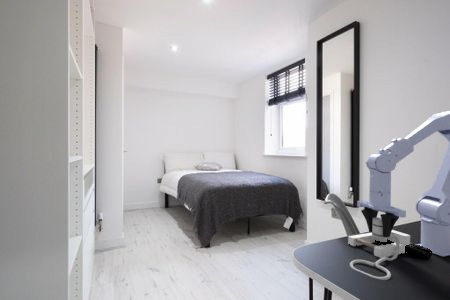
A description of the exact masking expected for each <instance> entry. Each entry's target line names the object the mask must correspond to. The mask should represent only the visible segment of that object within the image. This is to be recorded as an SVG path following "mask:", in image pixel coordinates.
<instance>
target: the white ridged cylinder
mask: <svg viewBox="0 0 450 300" xmlns="http://www.w3.org/2000/svg"><path fill="white" fill-rule="evenodd" d="M372 239H373V240H376V241H380V242H387V237H383V224H382V219H381V217H378V216H377V217H374V218H373V221H372Z"/></svg>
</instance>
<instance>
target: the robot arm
mask: <svg viewBox="0 0 450 300" xmlns="http://www.w3.org/2000/svg"><path fill="white" fill-rule="evenodd" d="M436 132H437V133H439V134H440V135H441V136H442V137H444V138H445V139H446V140H447V141H448V142H449V144H448V146H447V148H446V151H445V153H444V157H443V158H442V161H441V164H440V166H439V169H438V172H437V174H436V176H435V179H434V182H433V184H432V187H431V188H430V189H428V190H426V191H424V192H423V194H422V196H421V197H420V198H419V199H418V200H417V202H416V203H415V211H416V212H417V214H419V215H420V216H419V218H420V243H418V244H416V245H420V246H423V247H426V248H428V249H430V250H431V251H432V253H431V254H434V255H438V256H440V257H447V256H450V110H446V111H438V112H435V113H434V114H433V115H431V116H430V117H428V118H427V119H426V121H424V122H423V123H422V124H420V125H419V126H418V127H417V128H416V129H414V130H413V131H411V133H409V134H408V135H407V136H405V137H398V138H393V139H392V140H390V143H389V144H388V145H387V146H385V147H384V148H380V149H379V150H378V153H373V154H371V155H370V156H369V157H368V159H367V161H365V165H366V167H367V169H368V170H369V194H368V195H369V198H368V201H366V200H357V201H356V202H357V203H356V205H357V207H359V208H362V209H361V211H360V212H361V214H362V215H363V217H364V220H365V221H366V225H367V229H368V233H371V232H372V221H373V218H374V217H377V218H378V214H379V212H380V214H379V215H380V218H381V219H382V224H383V237H390V234H391V231H392V230H394V226H395V225H396V222H397V221H398V220H399V219H400V218H407V211H406V210H405V209H402V208H398V207H395V206H392V205H391V201H392V199H391V198H392V197H391V196H392V171H395V170H396V167H397V164H398V163H399V162H401V161H402V160H403V159H405V158H406V157H407V156H409V155H410V154H412V153H413V152H414V149H415V148H414V147H415V146H417V144H419V143H421V142H422V141H424V140H425V139H427V138H429V137H430V136H431V135H433V134H435V133H436Z"/></svg>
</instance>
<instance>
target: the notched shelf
mask: <svg viewBox="0 0 450 300" xmlns="http://www.w3.org/2000/svg"><path fill="white" fill-rule="evenodd" d="M391 235H396V236H397V237H398V239H399V245H400V246H399V253H398V255H400V254H401V253H402V254H405V246H406V245H409V244H410V245H411V235H410V234H407V233H404V232H401V231H397V230H394V229H392V231H391V234H390V236H391ZM387 239H388V240H390V241H392V242H394V243H391V244H386V245H383V244H381V245H376V244H374V243H376V242H375V240H373V239H372V232H367V233H361V234H355V235H349V236H347V244H348V245H349V244H350V246H352V247H357V246H363V245H364V246H367V247H368V248H372V249H373V255H374V257H375V256H376V257H377V258H379V259H381V258H383V257H388V258H389V257H393V256H394V254H395V250H396V240H395V238H390V237H387ZM356 245H357V246H356Z"/></svg>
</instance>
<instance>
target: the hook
mask: <svg viewBox="0 0 450 300" xmlns="http://www.w3.org/2000/svg"><path fill="white" fill-rule="evenodd" d="M390 238H395V240H396V250H395V254H394V255H392V256H391V257H389V256H388V257H383V258H379V259H378V260H376V261H375V262H372V261H369V260H365V259H354V260H352V261H350V262H349V267H350V268H351V269H353V270H354V271H356V272H358V273H361V274H363V275H365V276H368V277H370V278H372V279H377V280H381V281H388V280H390V279H391V278H392V274H391V271H389V269H387V268H386V267H384V266H382V265H380V264H381V263H383V262H385V261H387V262H391V261H394V260H395V259H397V258H398V256H399V254H398V253H399V246H400V245H399V239H398V237H397V236H396V235H391V236H390ZM355 264H366V265H368V266H371V267H374V266H375V267H376V268H377V269H379V270H381V271H383V272H385V273H386V275H385V276H375V275H373V274H370V273H367V272H365V271H362V270H360V269H357V268H356V267H355V266H354V265H355Z"/></svg>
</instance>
